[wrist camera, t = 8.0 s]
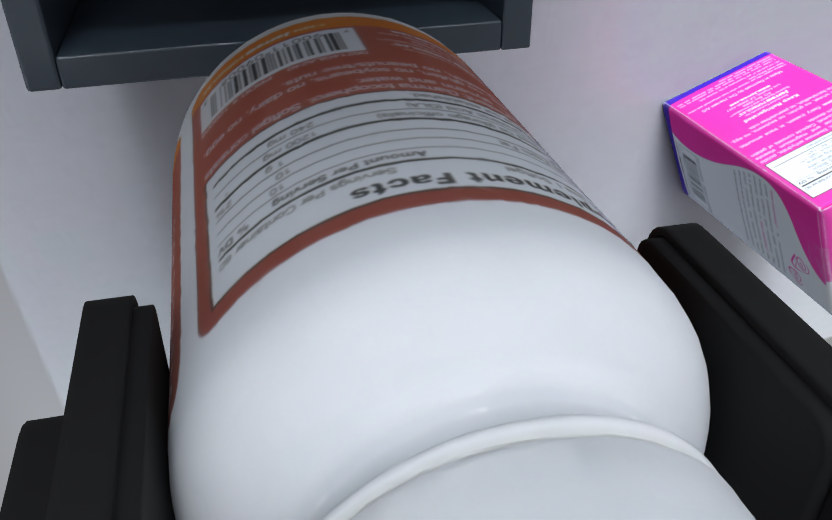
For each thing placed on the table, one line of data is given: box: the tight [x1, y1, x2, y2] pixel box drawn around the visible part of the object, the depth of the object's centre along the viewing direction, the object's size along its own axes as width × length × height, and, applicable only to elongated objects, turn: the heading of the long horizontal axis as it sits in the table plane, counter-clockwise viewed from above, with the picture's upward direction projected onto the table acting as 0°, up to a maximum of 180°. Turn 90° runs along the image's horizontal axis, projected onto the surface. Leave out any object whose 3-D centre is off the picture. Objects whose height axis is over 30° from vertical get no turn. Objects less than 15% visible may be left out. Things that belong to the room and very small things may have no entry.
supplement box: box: [663, 52, 832, 315], centre depth 35 cm, size 6×6×12 cm
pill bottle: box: [167, 13, 756, 520], centre depth 11 cm, size 6×6×11 cm
